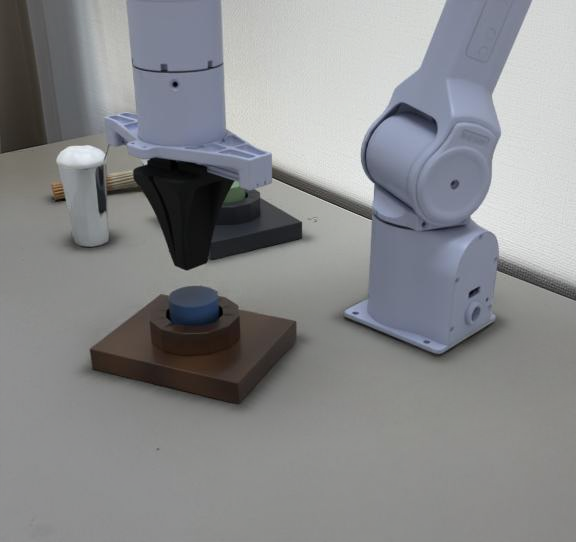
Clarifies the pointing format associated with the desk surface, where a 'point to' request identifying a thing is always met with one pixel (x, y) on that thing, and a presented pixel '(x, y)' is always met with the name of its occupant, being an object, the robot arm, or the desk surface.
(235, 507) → the desk surface
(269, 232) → the black square button base
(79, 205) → the milkshake
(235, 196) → the green button
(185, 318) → the blue button
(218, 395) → the wooden base push button
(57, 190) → the paintbrush
